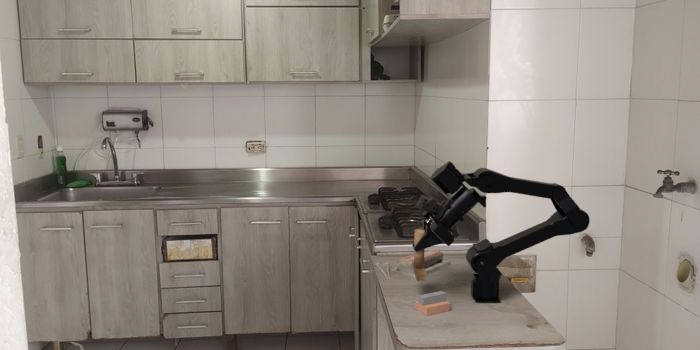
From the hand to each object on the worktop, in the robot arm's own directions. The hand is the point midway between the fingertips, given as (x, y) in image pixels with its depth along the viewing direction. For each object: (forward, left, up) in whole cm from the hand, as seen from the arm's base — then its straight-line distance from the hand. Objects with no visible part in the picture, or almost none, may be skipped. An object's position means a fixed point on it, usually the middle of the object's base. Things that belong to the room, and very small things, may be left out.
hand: (414, 248), depth 148 cm
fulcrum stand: (-4, +8, -13) cm, 16 cm away
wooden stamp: (-1, 0, -7) cm, 7 cm away
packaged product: (-5, -26, -14) cm, 30 cm away
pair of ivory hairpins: (+6, -21, -14) cm, 26 cm away
